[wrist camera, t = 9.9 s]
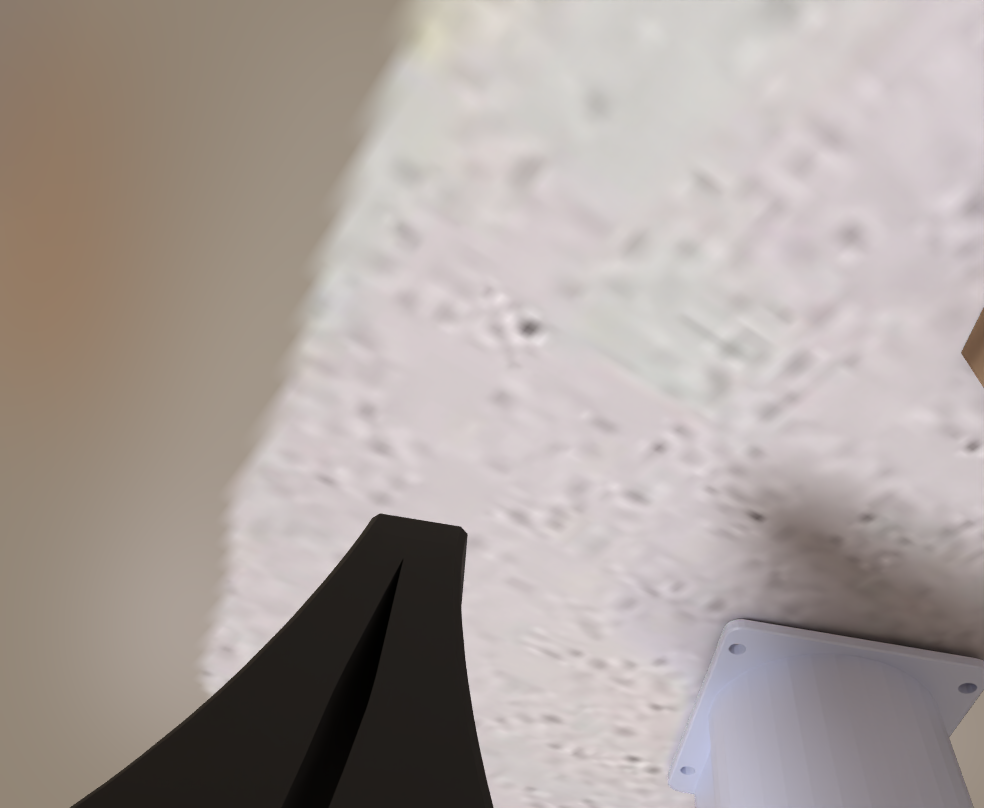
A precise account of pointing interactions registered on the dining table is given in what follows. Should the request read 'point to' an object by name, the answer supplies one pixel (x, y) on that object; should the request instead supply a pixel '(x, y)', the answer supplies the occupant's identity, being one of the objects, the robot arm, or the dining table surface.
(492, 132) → the dining table surface
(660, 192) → the dining table surface
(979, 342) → the end blocks
